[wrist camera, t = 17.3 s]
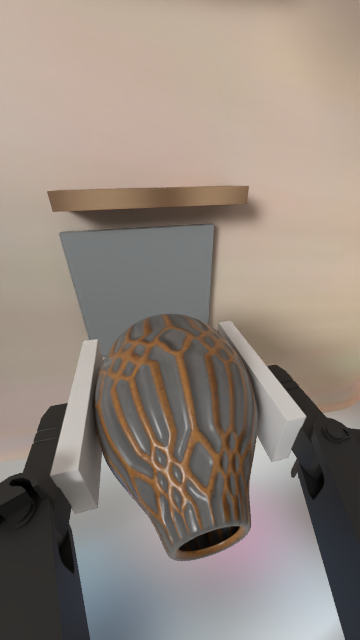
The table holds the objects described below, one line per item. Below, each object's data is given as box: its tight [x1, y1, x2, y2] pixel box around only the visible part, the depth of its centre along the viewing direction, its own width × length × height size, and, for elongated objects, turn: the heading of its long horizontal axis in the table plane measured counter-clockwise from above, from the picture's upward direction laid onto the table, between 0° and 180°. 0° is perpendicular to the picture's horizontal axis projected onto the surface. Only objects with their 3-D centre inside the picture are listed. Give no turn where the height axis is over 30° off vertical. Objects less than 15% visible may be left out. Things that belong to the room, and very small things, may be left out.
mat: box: [59, 224, 214, 357], centre depth 19 cm, size 11×11×1 cm
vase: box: [94, 314, 258, 561], centre depth 10 cm, size 7×7×9 cm
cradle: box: [47, 186, 249, 212], centre depth 12 cm, size 12×12×2 cm
